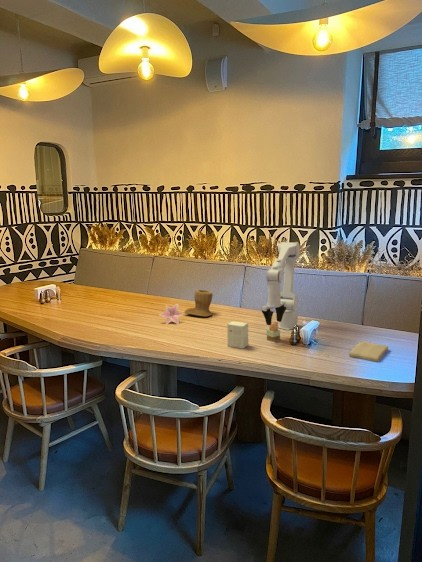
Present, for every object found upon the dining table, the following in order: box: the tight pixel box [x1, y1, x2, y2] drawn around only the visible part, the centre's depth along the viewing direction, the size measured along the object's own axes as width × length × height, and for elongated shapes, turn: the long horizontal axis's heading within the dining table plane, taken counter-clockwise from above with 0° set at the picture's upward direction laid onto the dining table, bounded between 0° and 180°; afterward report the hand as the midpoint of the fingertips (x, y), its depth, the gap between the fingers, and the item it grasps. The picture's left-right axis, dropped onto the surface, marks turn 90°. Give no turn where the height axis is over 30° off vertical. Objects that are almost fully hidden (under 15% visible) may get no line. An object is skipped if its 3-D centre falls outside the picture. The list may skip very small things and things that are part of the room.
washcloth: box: [349, 340, 389, 363], centre depth 176 cm, size 12×18×3 cm, turn 145°
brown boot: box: [183, 289, 213, 317], centre depth 239 cm, size 15×12×15 cm
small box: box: [226, 321, 249, 349], centre depth 187 cm, size 8×6×10 cm
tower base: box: [266, 334, 281, 343], centre depth 195 cm, size 4×4×2 cm
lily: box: [158, 303, 184, 325], centre depth 226 cm, size 12×12×10 cm
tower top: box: [266, 328, 281, 337], centre depth 194 cm, size 4×4×2 cm
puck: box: [268, 321, 279, 331], centre depth 194 cm, size 4×4×4 cm
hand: (273, 323), depth 193 cm, fingers open, 7 cm apart
